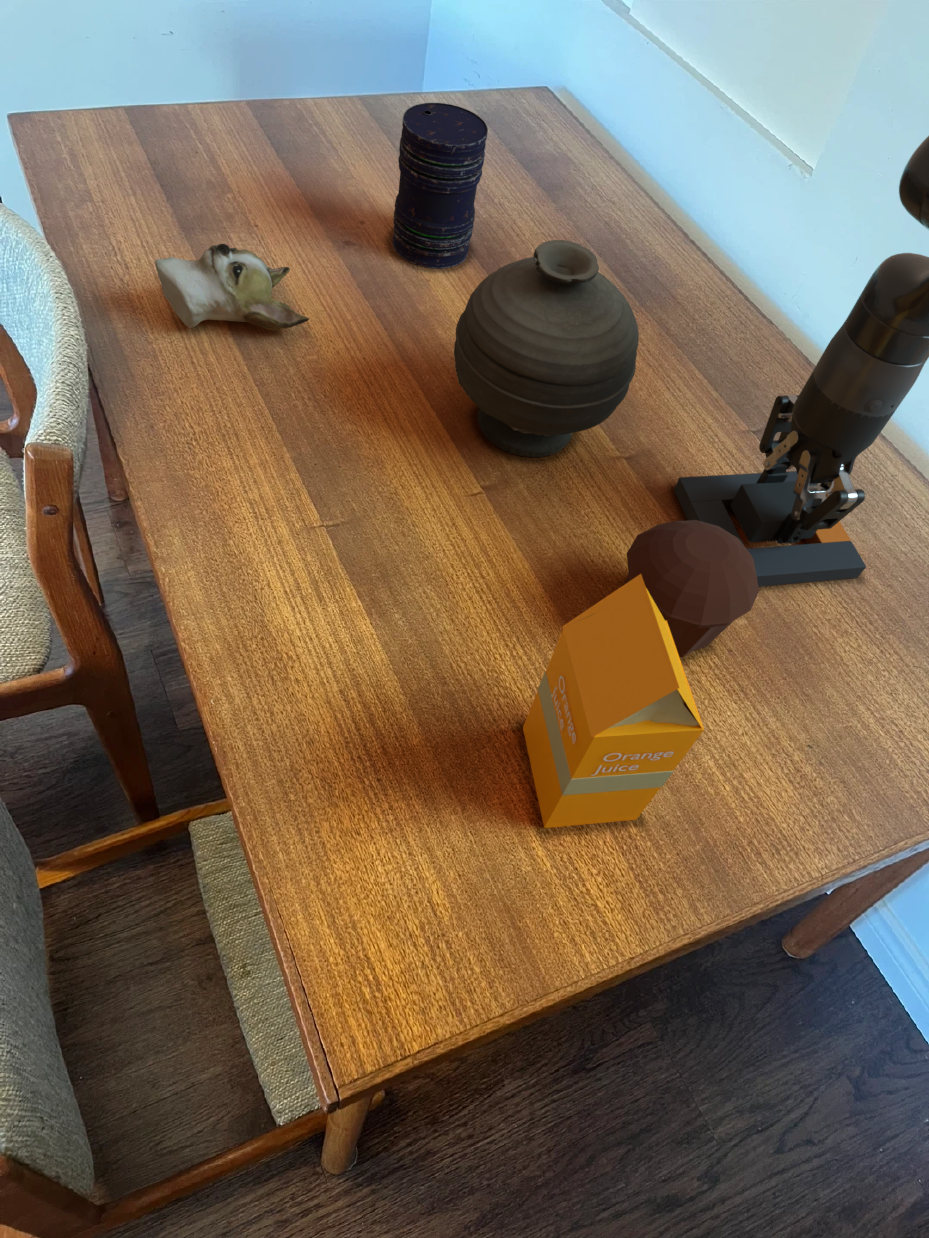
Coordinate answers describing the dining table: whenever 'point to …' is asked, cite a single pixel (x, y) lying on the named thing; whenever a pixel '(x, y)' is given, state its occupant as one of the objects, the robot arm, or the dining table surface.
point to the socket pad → (781, 564)
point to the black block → (765, 509)
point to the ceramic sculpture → (225, 289)
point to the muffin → (694, 578)
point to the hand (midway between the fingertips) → (772, 518)
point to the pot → (545, 349)
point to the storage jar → (438, 183)
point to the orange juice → (610, 713)
